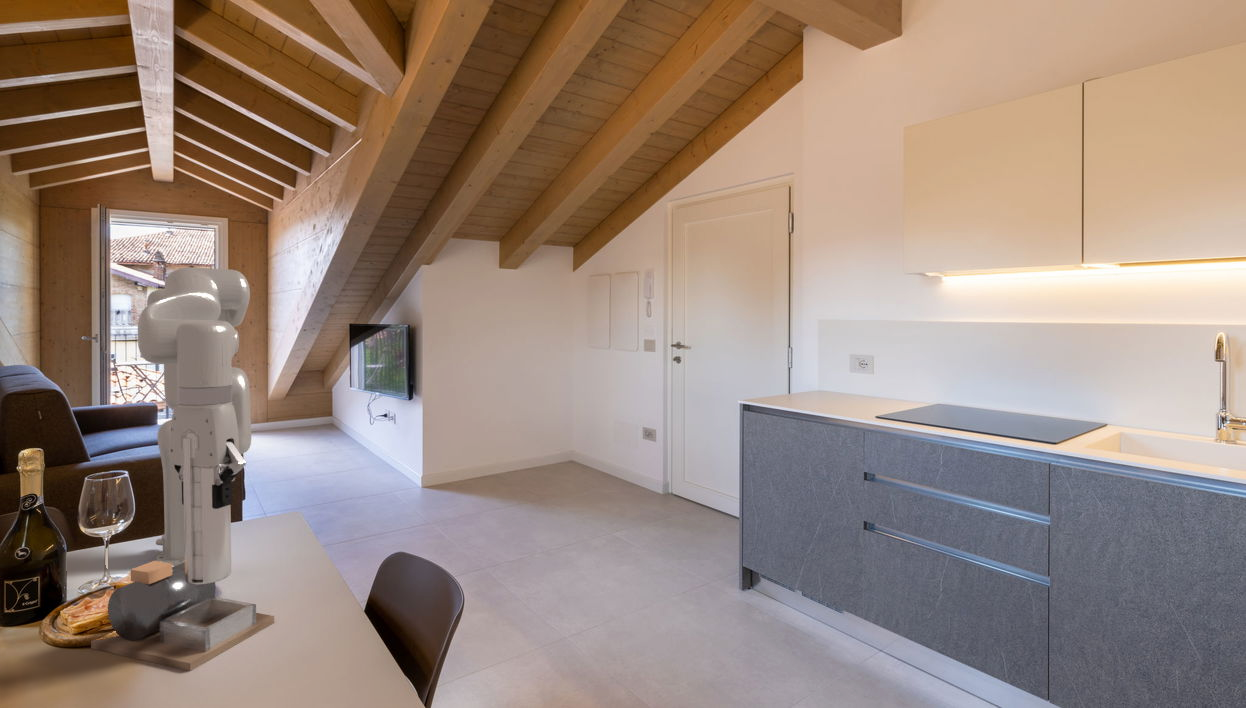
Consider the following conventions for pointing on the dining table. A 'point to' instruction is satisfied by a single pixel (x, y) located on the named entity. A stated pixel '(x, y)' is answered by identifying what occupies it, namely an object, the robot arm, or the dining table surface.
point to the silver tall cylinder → (204, 523)
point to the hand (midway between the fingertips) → (207, 503)
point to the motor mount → (175, 619)
